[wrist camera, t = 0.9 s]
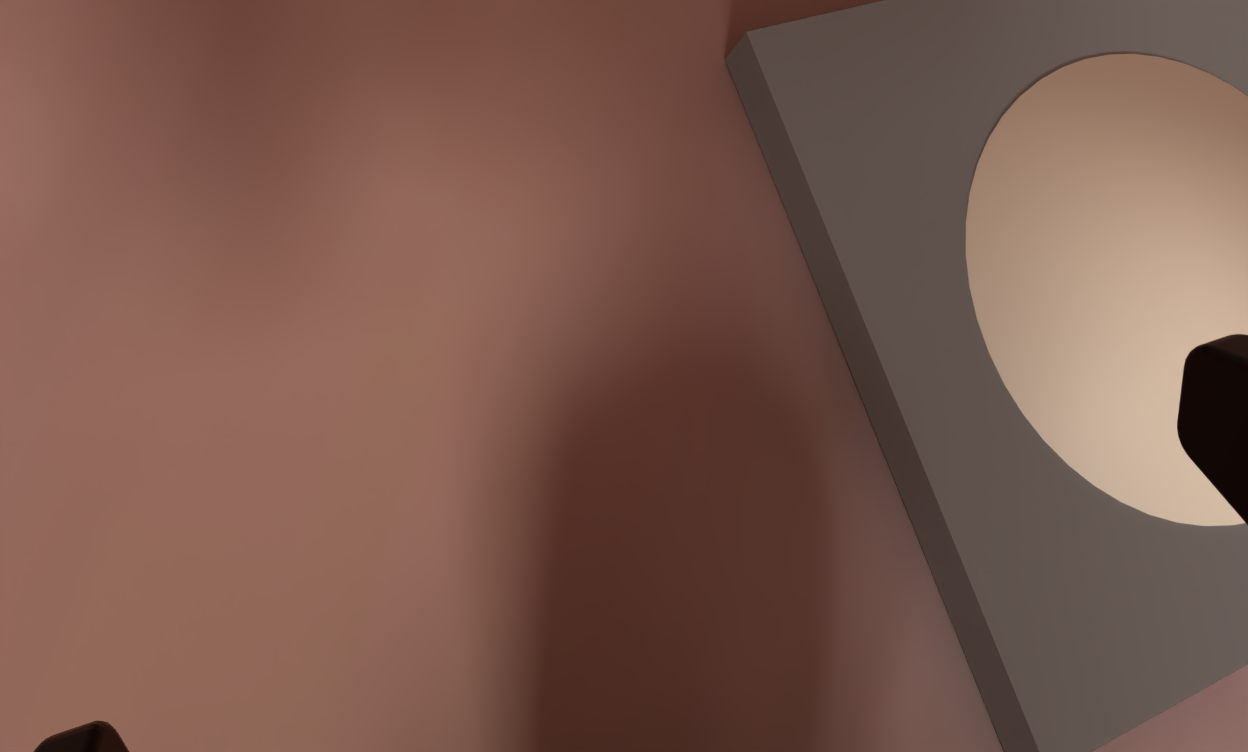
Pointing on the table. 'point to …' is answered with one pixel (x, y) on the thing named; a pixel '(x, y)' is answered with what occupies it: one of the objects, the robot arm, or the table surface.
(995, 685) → the board
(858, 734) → the table surface
